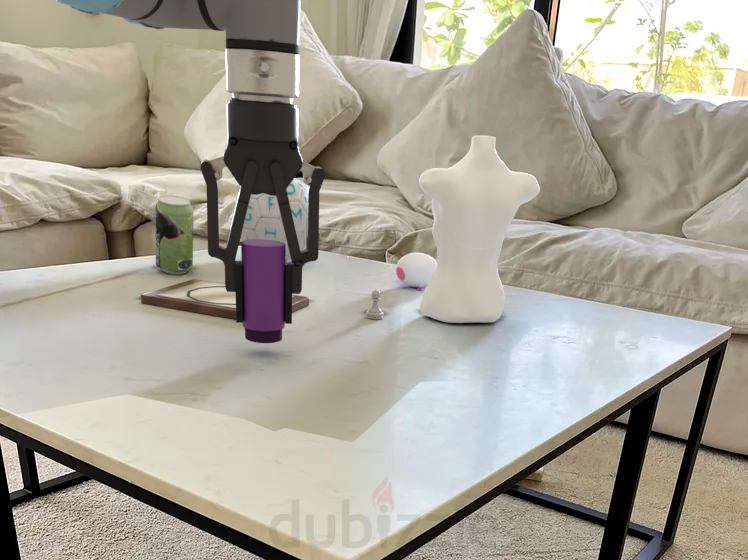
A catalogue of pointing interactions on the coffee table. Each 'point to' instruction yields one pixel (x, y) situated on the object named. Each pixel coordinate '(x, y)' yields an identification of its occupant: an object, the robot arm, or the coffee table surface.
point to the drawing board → (204, 298)
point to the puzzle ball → (276, 217)
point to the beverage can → (174, 234)
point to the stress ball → (416, 269)
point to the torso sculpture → (471, 232)
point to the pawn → (375, 307)
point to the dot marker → (263, 289)
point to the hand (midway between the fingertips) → (263, 319)
